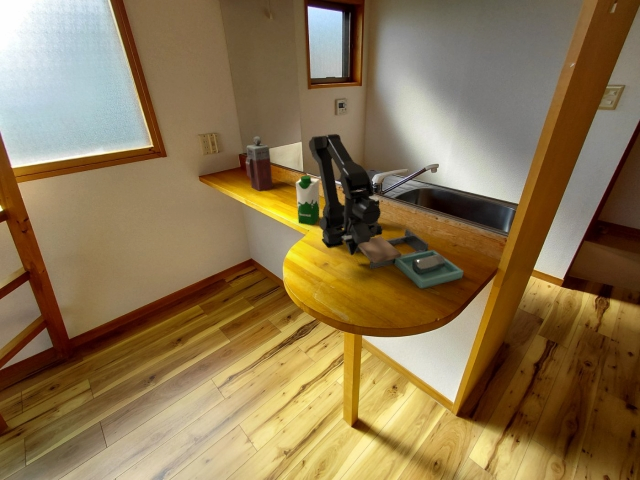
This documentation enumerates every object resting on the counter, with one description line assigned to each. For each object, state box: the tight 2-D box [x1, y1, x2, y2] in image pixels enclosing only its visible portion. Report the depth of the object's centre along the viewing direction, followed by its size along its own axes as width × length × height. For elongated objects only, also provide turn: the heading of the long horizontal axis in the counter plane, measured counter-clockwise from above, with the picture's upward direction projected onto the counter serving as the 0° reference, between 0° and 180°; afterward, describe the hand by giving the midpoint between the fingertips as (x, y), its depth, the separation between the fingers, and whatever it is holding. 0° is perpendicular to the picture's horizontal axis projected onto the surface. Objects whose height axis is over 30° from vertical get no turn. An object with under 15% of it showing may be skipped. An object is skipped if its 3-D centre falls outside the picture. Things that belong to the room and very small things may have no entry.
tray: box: [394, 249, 464, 290], centre depth 95 cm, size 15×14×2 cm
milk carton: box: [295, 175, 320, 226], centre depth 126 cm, size 9×9×20 cm
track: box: [355, 228, 430, 270], centre depth 104 cm, size 22×12×5 cm, turn 110°
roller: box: [412, 253, 445, 274], centre depth 94 cm, size 9×4×4 cm, turn 111°
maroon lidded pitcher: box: [245, 136, 274, 192], centre depth 163 cm, size 9×11×28 cm
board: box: [358, 235, 402, 263], centre depth 103 cm, size 10×13×3 cm
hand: (351, 254), depth 99 cm, fingers closed
